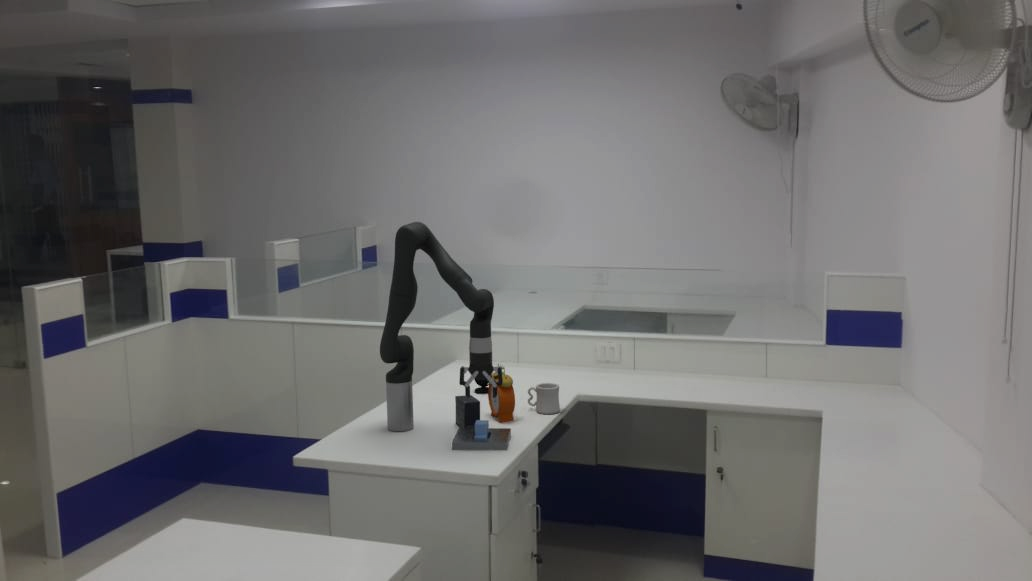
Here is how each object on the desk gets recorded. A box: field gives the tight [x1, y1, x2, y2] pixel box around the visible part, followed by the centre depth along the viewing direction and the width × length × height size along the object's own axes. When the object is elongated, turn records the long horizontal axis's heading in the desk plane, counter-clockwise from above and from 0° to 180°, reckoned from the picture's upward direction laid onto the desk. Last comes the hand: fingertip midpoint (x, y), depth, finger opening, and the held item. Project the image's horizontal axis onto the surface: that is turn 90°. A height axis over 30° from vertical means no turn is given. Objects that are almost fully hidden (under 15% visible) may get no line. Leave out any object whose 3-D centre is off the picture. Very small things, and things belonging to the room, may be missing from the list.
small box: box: [455, 394, 481, 428], centre depth 307 cm, size 11×6×10 cm, turn 22°
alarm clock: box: [487, 363, 516, 424], centre depth 316 cm, size 13×6×20 cm, turn 21°
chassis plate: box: [451, 427, 512, 451], centre depth 289 cm, size 16×18×2 cm
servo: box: [474, 419, 489, 439], centre depth 289 cm, size 9×4×7 cm, turn 176°
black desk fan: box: [473, 379, 490, 395], centre depth 356 cm, size 8×8×10 cm
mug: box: [527, 382, 561, 415], centre depth 326 cm, size 12×9×10 cm
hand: (481, 397), depth 287 cm, fingers open, 8 cm apart
